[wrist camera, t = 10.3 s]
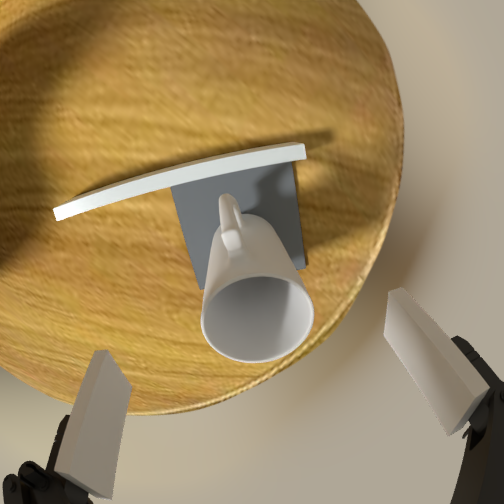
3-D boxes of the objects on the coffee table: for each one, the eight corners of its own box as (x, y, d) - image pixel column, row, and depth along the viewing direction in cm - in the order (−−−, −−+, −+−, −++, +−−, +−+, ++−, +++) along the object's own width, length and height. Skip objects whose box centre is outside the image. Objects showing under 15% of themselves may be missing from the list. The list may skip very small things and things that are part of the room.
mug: (286, 265, 29) (320, 347, 18) (222, 283, 29) (222, 372, 18) (261, 167, 24) (290, 198, 14) (188, 189, 25) (159, 237, 14)
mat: (200, 287, 29) (200, 289, 29) (170, 184, 25) (170, 185, 24) (304, 266, 29) (305, 268, 29) (290, 159, 25) (291, 160, 24)
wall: (76, 208, 25) (57, 221, 21) (72, 197, 24) (53, 208, 20) (294, 154, 25) (306, 158, 21) (292, 141, 24) (304, 143, 20)
